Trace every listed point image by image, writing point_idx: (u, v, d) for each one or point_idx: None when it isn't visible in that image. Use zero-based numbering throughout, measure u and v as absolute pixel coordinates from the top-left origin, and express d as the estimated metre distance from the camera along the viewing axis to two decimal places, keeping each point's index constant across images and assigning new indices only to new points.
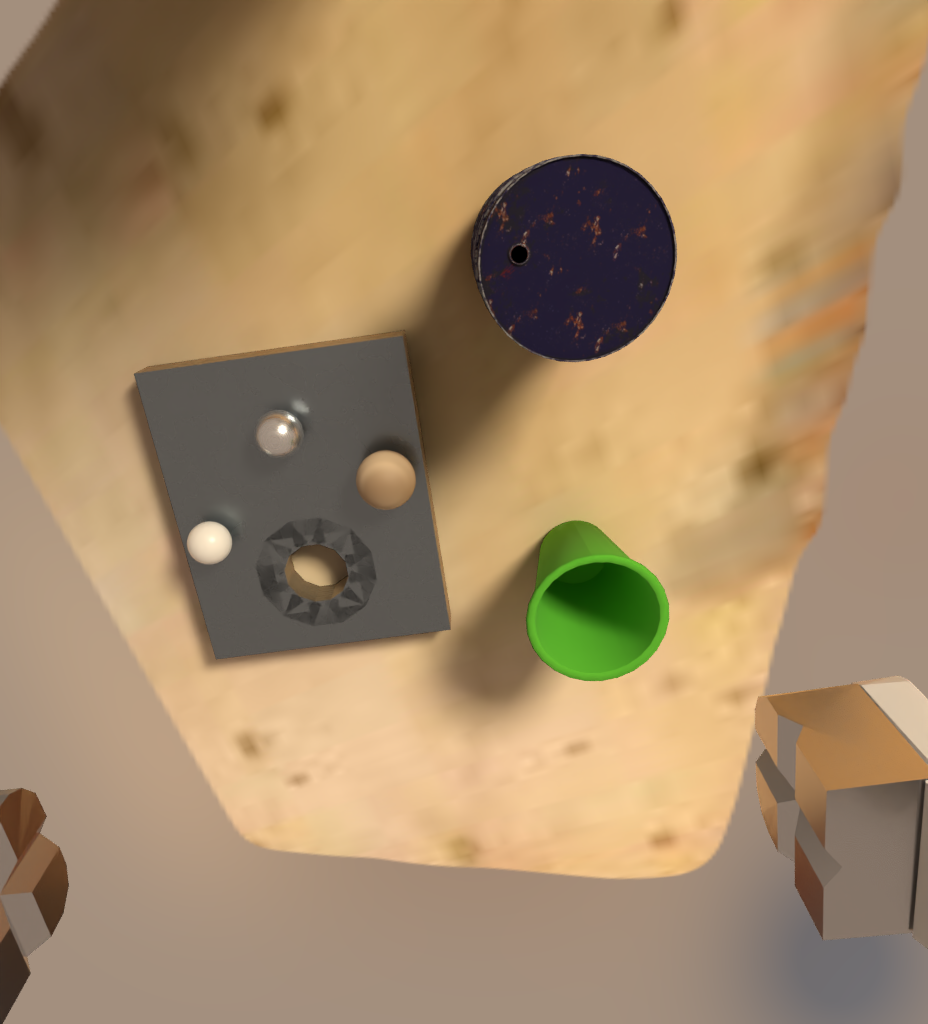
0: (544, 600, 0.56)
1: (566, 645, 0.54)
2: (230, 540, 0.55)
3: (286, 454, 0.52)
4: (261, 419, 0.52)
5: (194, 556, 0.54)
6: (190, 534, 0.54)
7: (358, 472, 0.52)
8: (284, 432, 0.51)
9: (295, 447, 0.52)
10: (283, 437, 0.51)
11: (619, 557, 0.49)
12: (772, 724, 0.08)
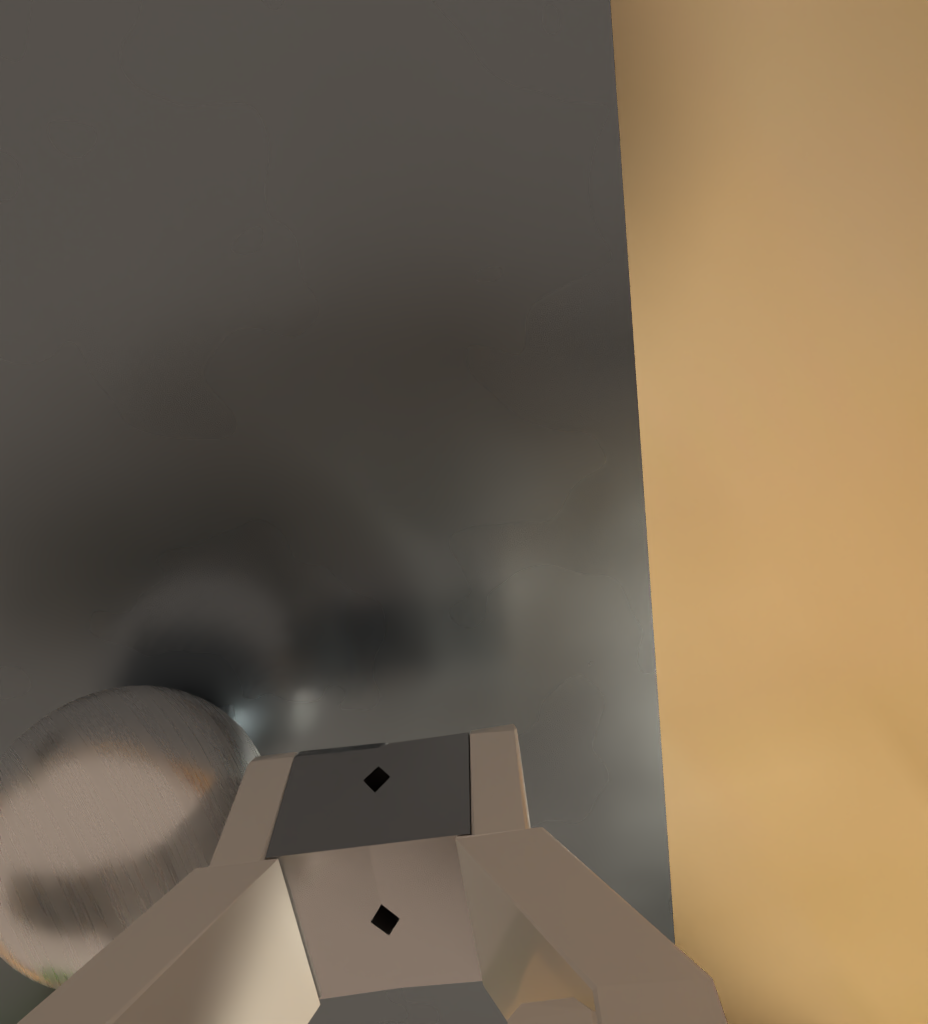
0: None
1: None
2: None
3: None
4: (93, 866, 0.07)
5: None
6: None
7: None
8: None
9: None
10: None
11: None
12: (380, 772, 0.08)
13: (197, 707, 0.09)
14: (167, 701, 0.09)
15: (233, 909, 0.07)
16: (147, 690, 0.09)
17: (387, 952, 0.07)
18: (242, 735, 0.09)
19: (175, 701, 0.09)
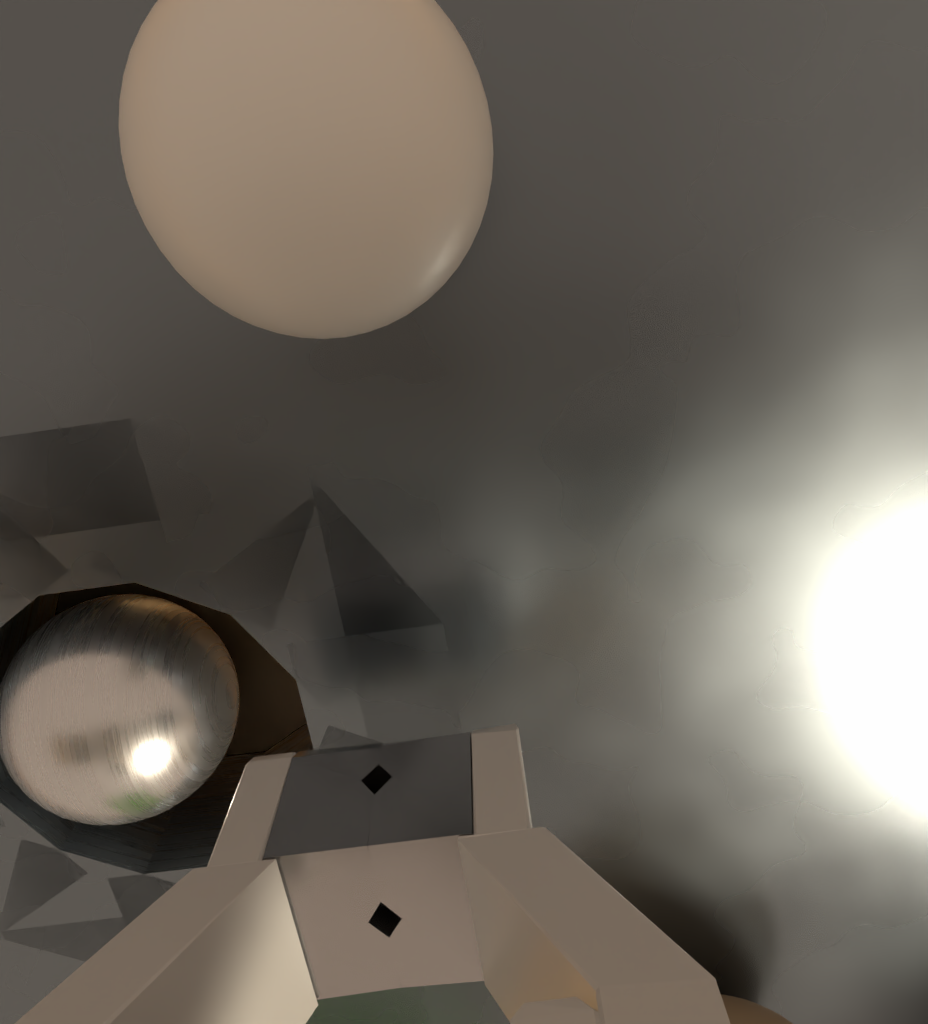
0: None
1: None
2: None
3: None
4: (19, 720, 0.10)
5: (199, 19, 0.05)
6: None
7: None
8: None
9: None
10: None
11: None
12: (382, 772, 0.08)
13: (163, 636, 0.11)
14: (142, 622, 0.11)
15: (231, 908, 0.07)
16: (144, 608, 0.11)
17: (385, 952, 0.07)
18: (192, 673, 0.11)
19: (150, 625, 0.11)
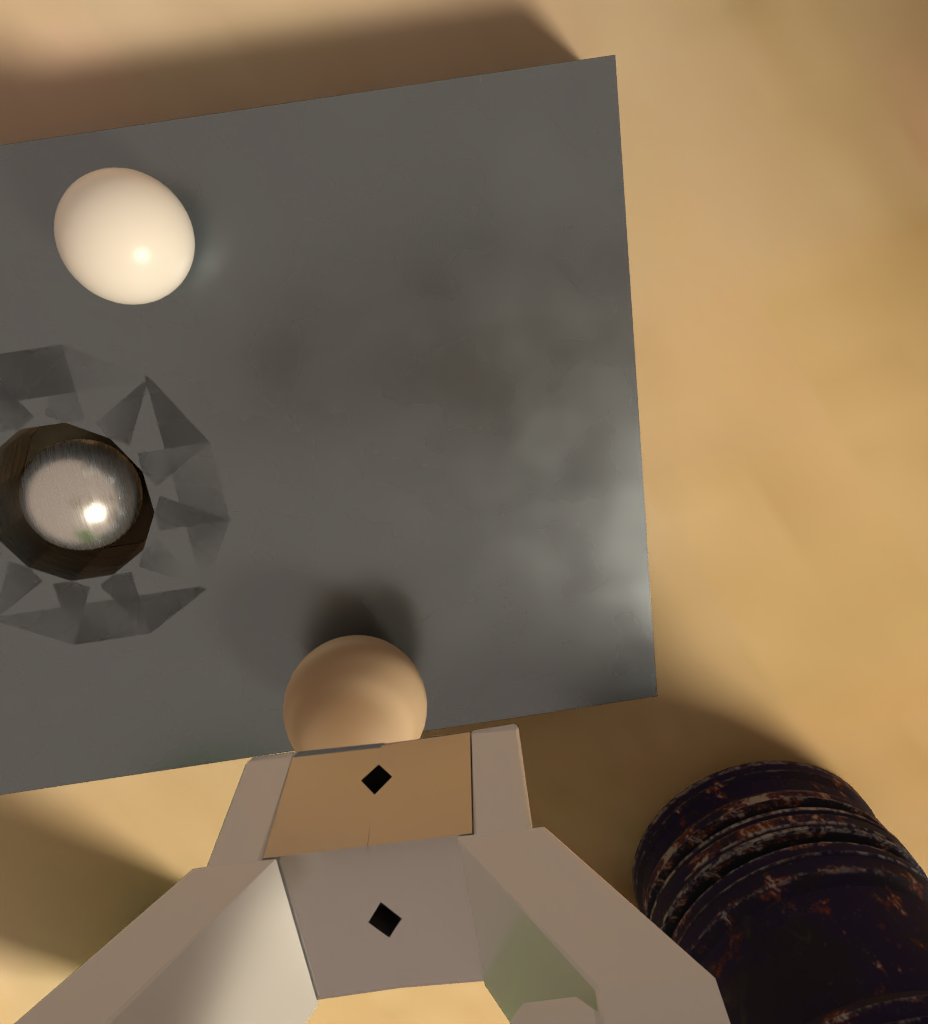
0: None
1: None
2: None
3: None
4: (50, 484, 0.21)
5: (78, 200, 0.17)
6: (151, 187, 0.18)
7: (378, 662, 0.21)
8: (38, 534, 0.22)
9: None
10: None
11: None
12: (383, 771, 0.08)
13: (109, 448, 0.23)
14: (97, 443, 0.22)
15: (231, 907, 0.07)
16: (93, 440, 0.23)
17: (385, 952, 0.07)
18: (126, 464, 0.23)
19: (101, 444, 0.23)
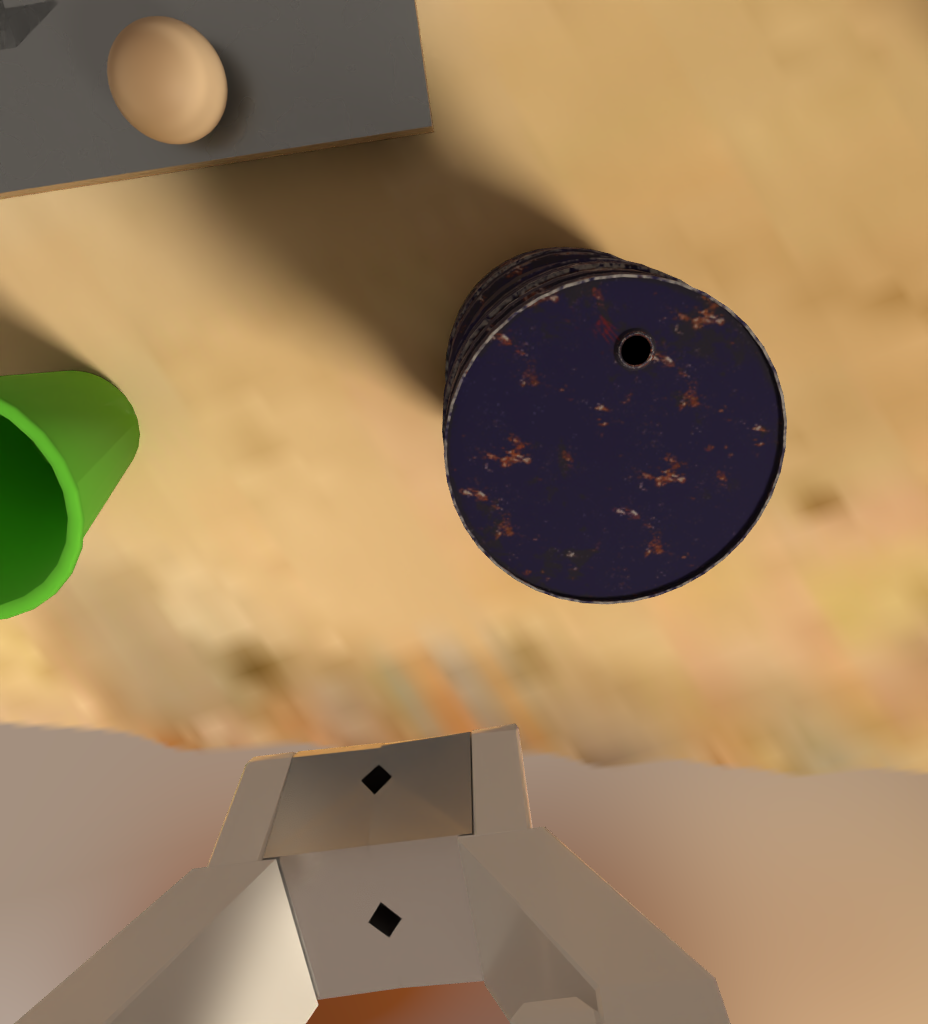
0: None
1: None
2: None
3: None
4: None
5: None
6: None
7: (177, 22, 0.27)
8: None
9: None
10: None
11: (80, 533, 0.27)
12: (382, 772, 0.08)
13: None
14: None
15: (231, 907, 0.07)
16: None
17: (385, 952, 0.07)
18: None
19: None
